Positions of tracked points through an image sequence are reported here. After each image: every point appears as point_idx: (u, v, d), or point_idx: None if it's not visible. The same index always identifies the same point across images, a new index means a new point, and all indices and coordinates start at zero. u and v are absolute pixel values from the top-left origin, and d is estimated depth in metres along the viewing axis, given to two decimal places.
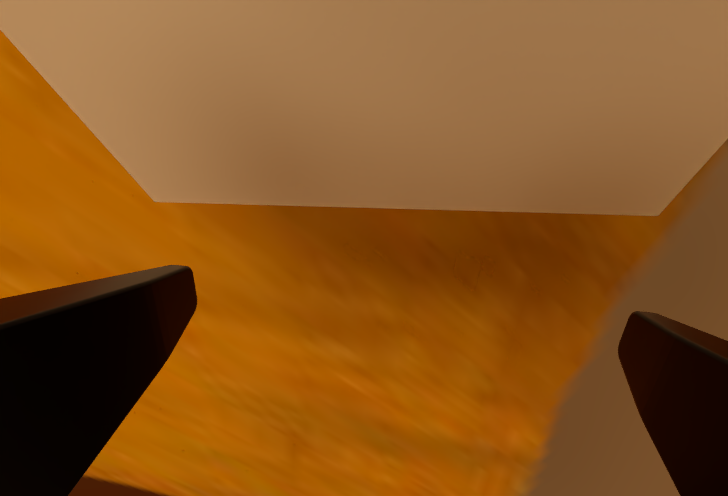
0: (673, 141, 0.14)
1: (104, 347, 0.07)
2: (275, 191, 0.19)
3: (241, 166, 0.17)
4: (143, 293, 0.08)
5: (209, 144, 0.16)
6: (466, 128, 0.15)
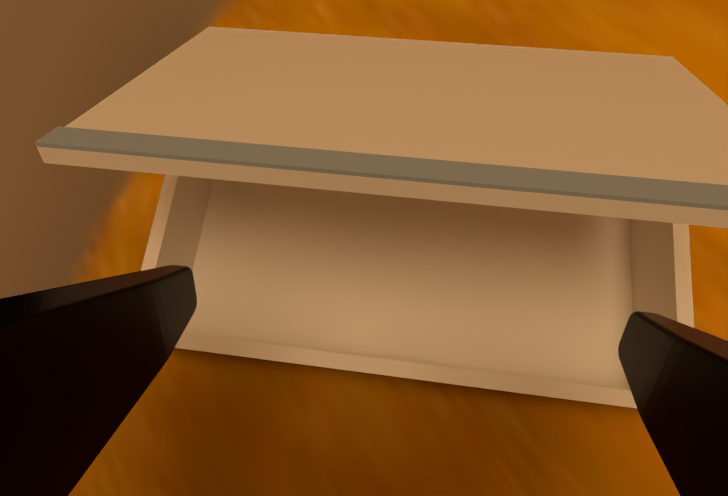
0: (201, 58, 0.18)
1: (104, 347, 0.07)
2: (538, 55, 0.20)
3: (567, 69, 0.18)
4: (143, 293, 0.08)
5: (594, 82, 0.17)
6: (356, 74, 0.17)
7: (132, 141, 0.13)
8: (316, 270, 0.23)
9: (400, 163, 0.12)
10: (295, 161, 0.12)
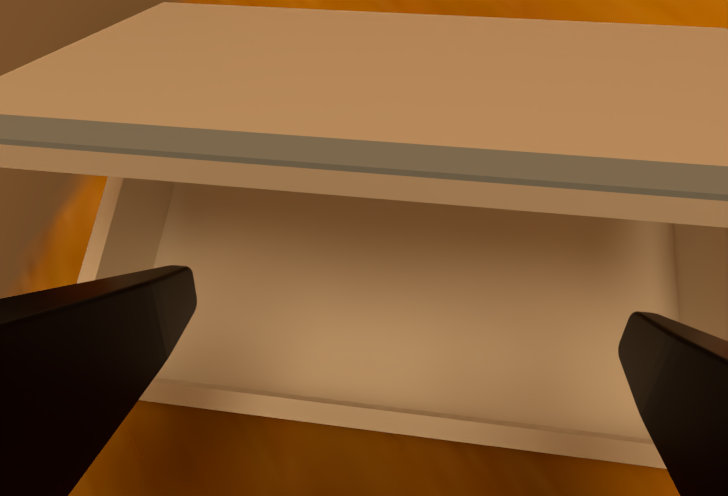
0: (143, 33, 0.15)
1: (104, 347, 0.07)
2: (561, 27, 0.16)
3: (600, 41, 0.15)
4: (143, 293, 0.08)
5: (639, 55, 0.14)
6: (336, 48, 0.14)
7: (10, 126, 0.09)
8: (295, 293, 0.19)
9: (390, 151, 0.08)
10: (237, 150, 0.08)
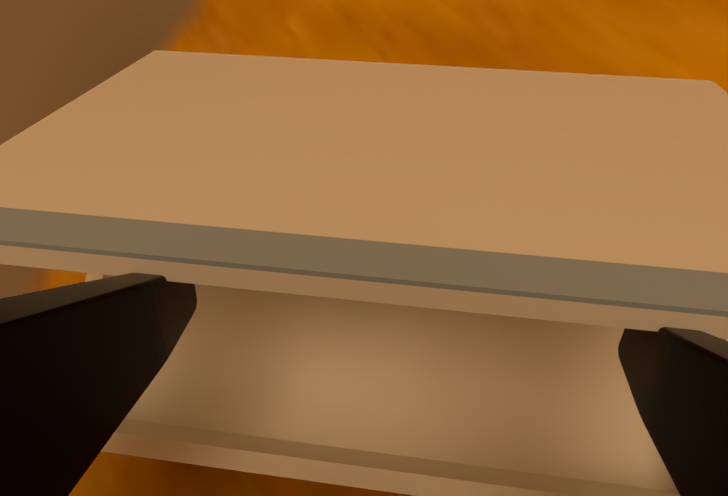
0: (133, 92, 0.15)
1: (104, 347, 0.07)
2: (548, 81, 0.16)
3: (586, 100, 0.15)
4: (143, 293, 0.08)
5: (623, 118, 0.14)
6: (323, 111, 0.14)
7: None
8: (287, 337, 0.19)
9: (368, 253, 0.09)
10: (218, 252, 0.09)
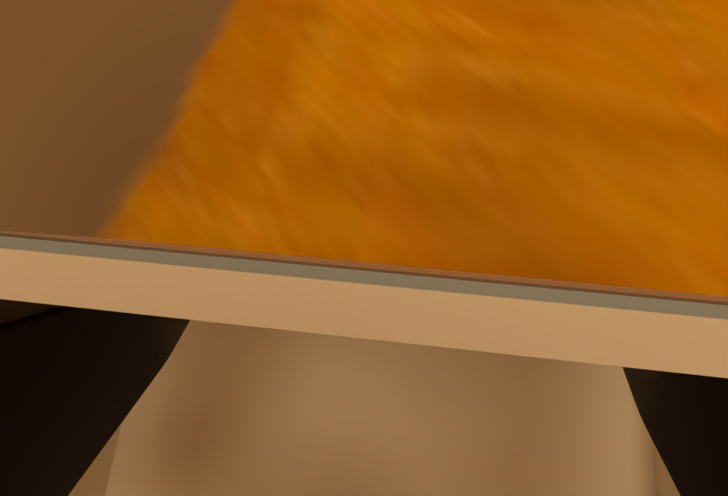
0: (62, 236, 0.13)
1: (104, 347, 0.07)
2: (533, 278, 0.15)
3: (581, 284, 0.13)
4: None
5: None
6: (281, 257, 0.12)
7: None
8: None
9: (316, 263, 0.05)
10: None
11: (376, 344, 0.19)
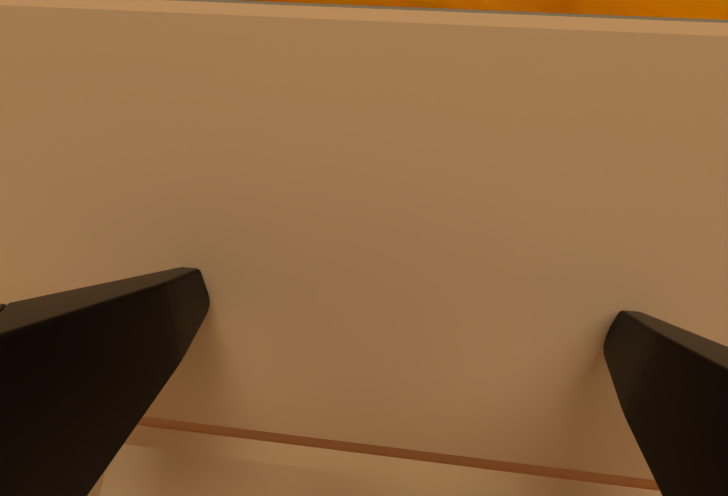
0: None
1: (121, 349, 0.07)
2: None
3: None
4: (159, 295, 0.08)
5: None
6: None
7: None
8: None
9: None
10: None
11: (367, 494, 0.17)
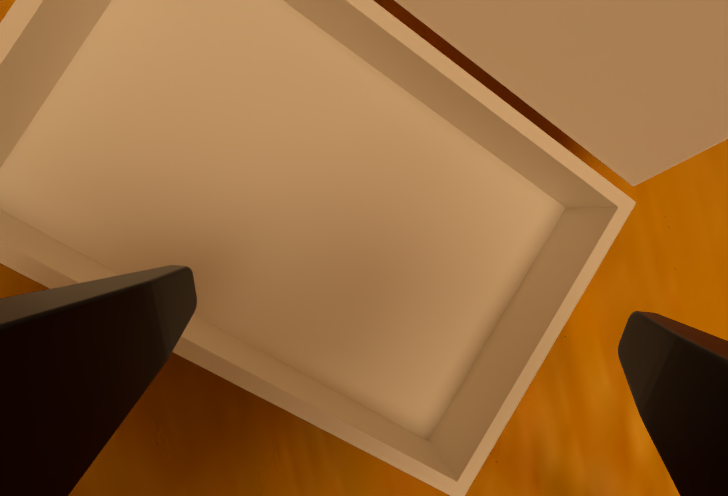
0: None
1: (104, 347, 0.07)
2: None
3: None
4: (143, 293, 0.08)
5: None
6: None
7: None
8: (186, 199, 0.19)
9: None
10: None
11: (367, 93, 0.20)
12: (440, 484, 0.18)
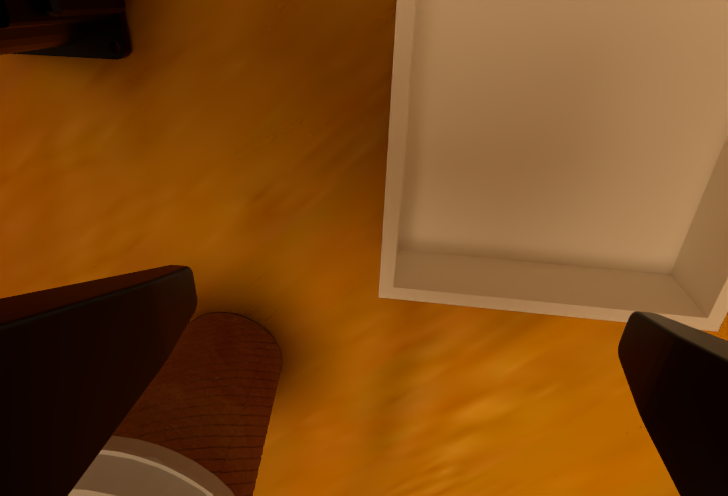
0: None
1: (104, 347, 0.07)
2: None
3: None
4: (143, 293, 0.08)
5: None
6: None
7: None
8: None
9: None
10: None
11: None
12: (384, 274, 0.20)
